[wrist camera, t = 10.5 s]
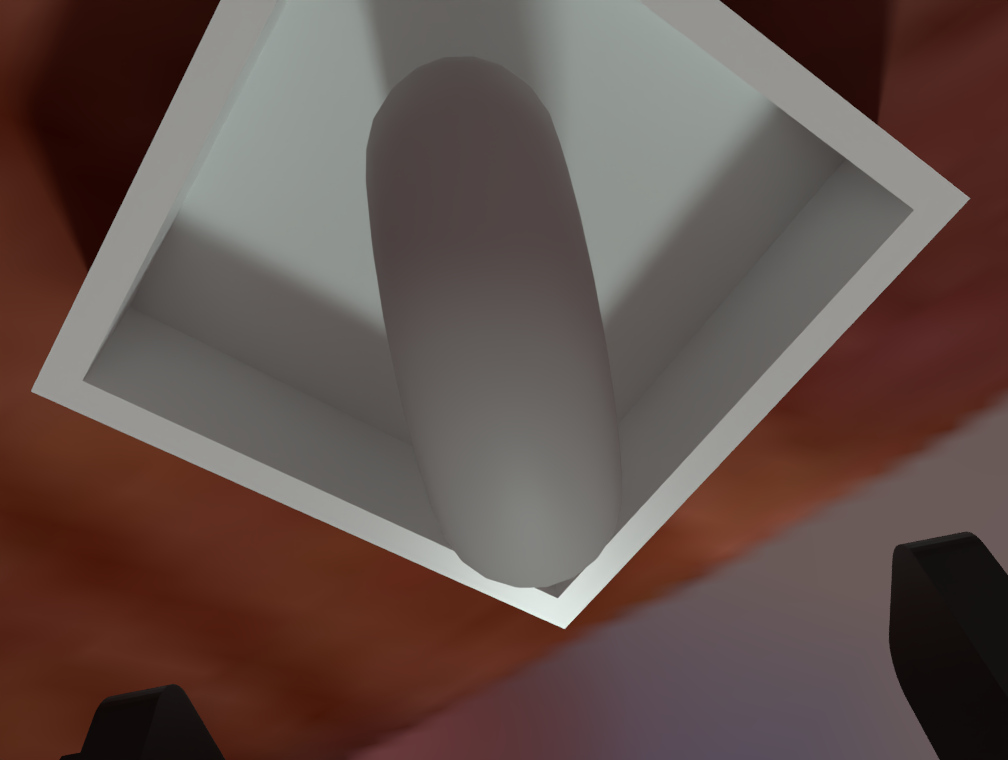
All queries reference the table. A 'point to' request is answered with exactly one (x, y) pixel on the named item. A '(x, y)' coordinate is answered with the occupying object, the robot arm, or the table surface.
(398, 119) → the donut
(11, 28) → the table surface
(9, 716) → the table surface
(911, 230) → the walled tray
